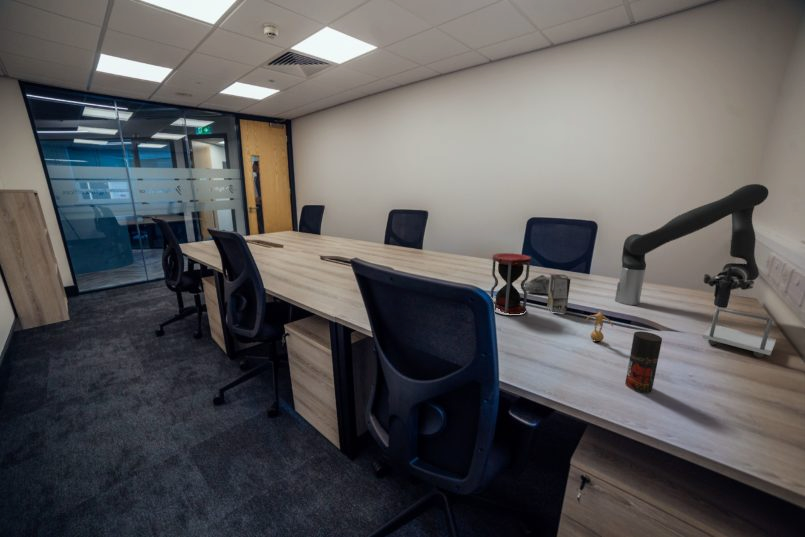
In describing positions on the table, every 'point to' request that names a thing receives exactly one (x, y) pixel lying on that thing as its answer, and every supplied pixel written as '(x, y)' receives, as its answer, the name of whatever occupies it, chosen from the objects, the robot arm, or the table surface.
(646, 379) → the deodorant
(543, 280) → the mineral rock
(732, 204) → the robot arm
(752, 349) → the dolly
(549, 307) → the coffee box
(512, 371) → the table surface
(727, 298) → the two-way radio
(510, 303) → the hourglass
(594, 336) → the figurine
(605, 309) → the table surface
